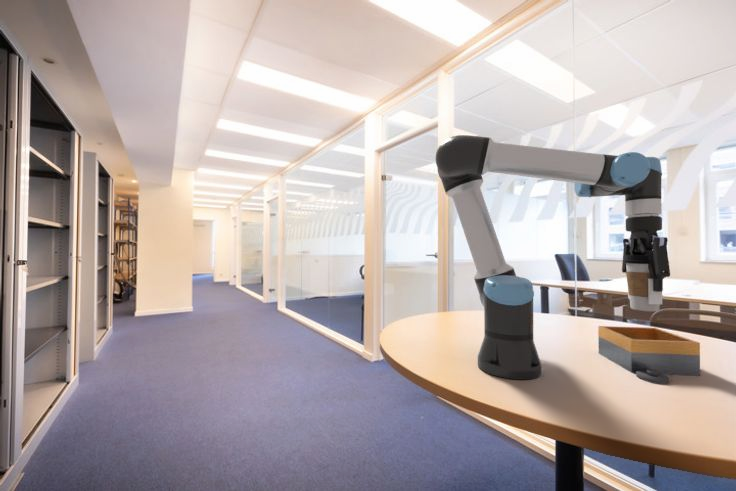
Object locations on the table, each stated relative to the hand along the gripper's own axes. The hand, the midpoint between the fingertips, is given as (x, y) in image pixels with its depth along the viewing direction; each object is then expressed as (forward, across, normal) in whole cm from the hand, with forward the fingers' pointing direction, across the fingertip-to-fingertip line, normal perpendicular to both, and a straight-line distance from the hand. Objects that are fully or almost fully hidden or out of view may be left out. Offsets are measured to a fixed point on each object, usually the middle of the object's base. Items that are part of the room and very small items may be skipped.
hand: (644, 301), depth 88 cm
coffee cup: (+2, 0, 0) cm, 2 cm away
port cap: (+17, -11, +5) cm, 21 cm away
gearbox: (+17, 0, 0) cm, 17 cm away
